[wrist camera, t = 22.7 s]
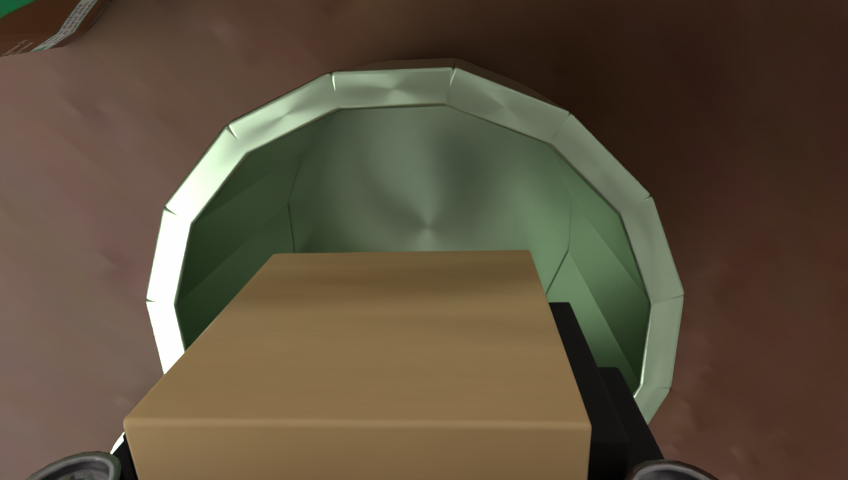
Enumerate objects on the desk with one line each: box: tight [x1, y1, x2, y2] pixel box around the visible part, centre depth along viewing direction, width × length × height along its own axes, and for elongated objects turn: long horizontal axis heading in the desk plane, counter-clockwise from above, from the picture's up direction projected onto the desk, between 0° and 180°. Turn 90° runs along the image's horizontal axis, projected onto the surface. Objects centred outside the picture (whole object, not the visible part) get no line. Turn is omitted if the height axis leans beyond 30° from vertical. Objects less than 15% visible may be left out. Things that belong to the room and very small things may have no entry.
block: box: [123, 250, 592, 480], centre depth 9 cm, size 5×5×5 cm
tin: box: [146, 58, 684, 425], centre depth 15 cm, size 11×11×8 cm
